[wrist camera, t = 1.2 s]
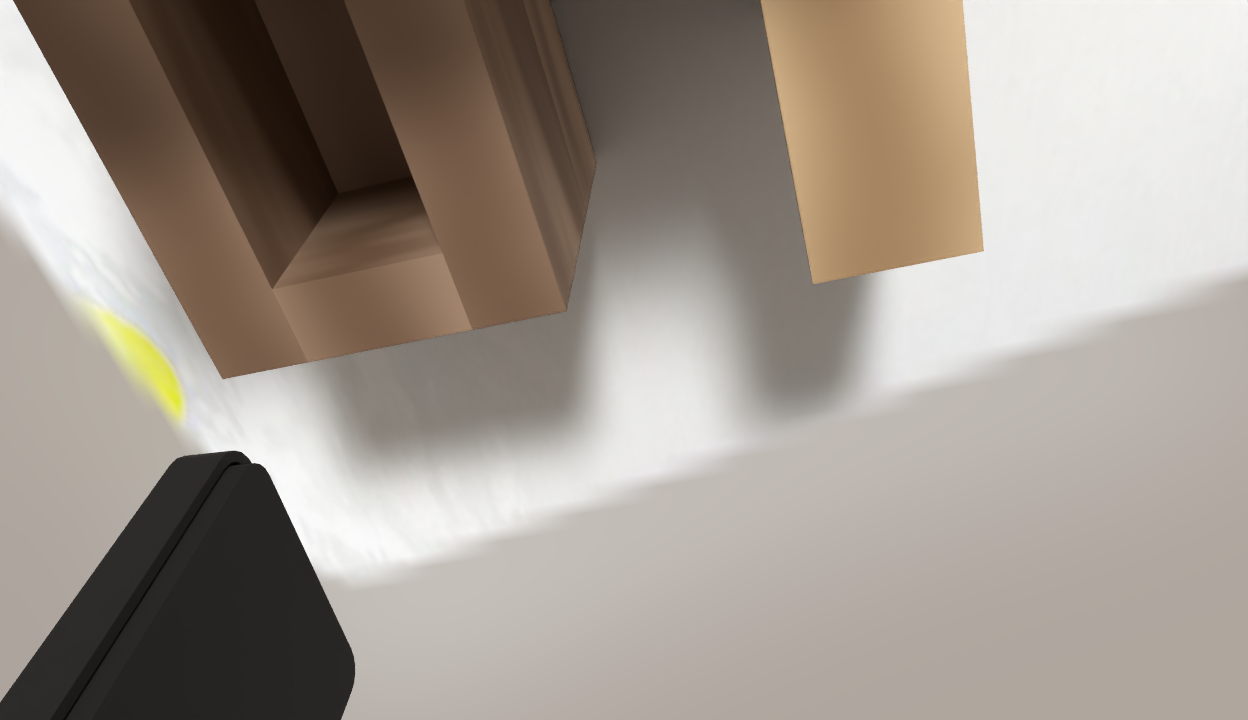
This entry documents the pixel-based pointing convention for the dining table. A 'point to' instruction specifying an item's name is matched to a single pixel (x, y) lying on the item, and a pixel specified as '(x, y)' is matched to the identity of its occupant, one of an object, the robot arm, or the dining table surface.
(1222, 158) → the dining table surface
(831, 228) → the tan grey block
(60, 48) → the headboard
